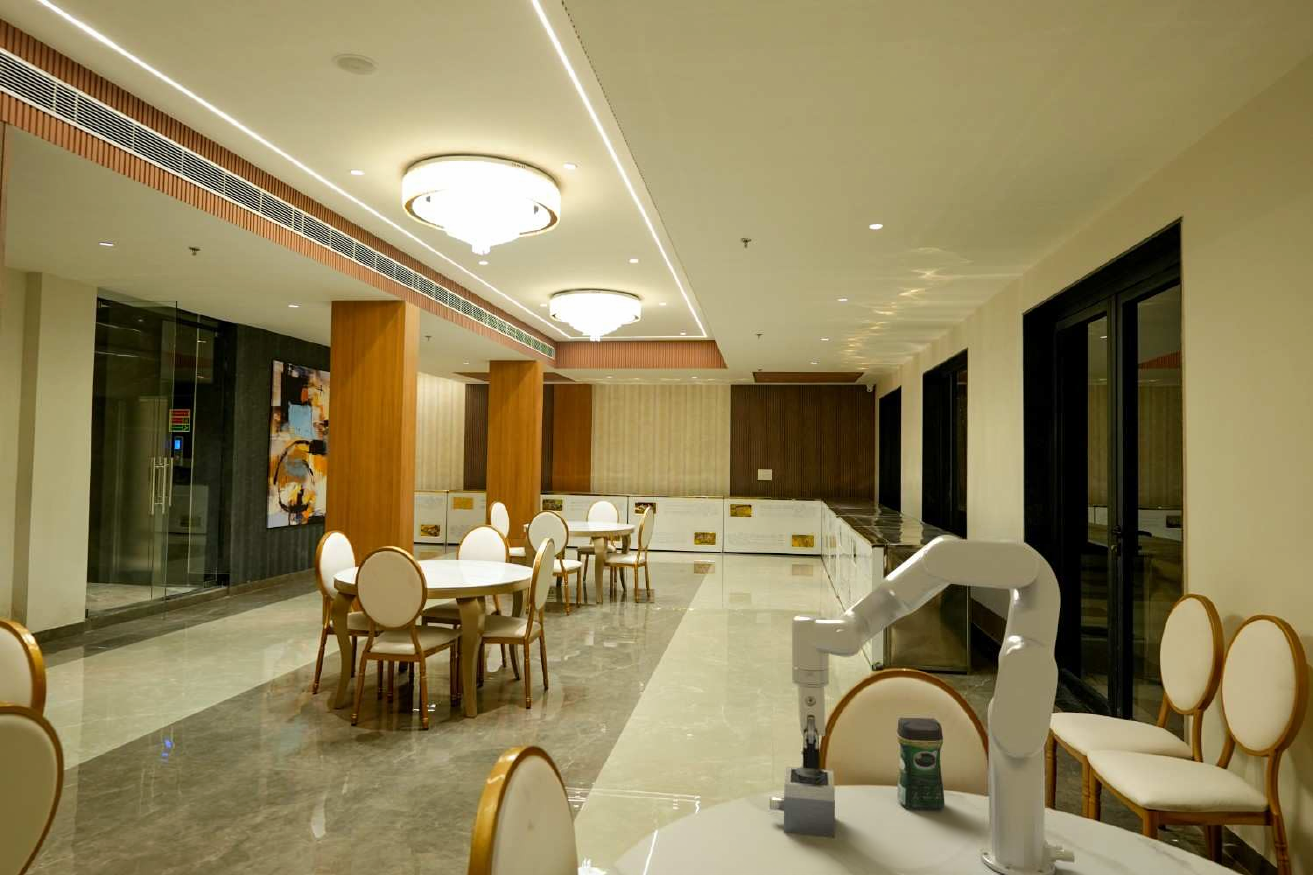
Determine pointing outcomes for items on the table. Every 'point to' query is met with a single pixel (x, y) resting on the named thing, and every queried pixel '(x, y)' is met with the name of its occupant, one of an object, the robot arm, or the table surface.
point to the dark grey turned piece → (809, 774)
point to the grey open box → (807, 805)
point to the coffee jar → (920, 764)
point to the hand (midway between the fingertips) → (811, 759)
